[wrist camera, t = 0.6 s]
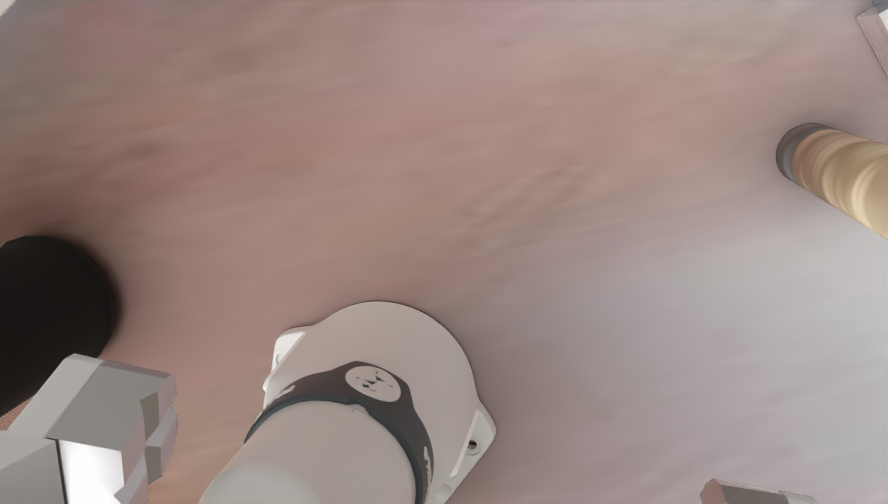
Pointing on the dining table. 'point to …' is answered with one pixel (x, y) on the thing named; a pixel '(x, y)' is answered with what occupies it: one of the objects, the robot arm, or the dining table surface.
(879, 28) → the block
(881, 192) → the key rod
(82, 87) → the dining table surface
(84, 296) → the container
